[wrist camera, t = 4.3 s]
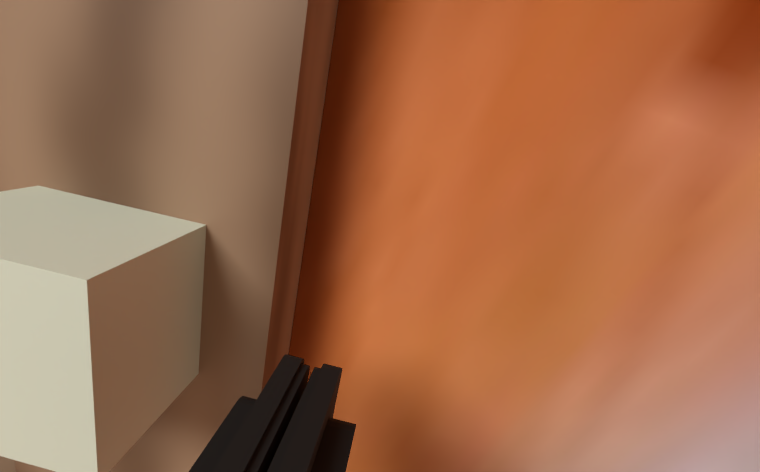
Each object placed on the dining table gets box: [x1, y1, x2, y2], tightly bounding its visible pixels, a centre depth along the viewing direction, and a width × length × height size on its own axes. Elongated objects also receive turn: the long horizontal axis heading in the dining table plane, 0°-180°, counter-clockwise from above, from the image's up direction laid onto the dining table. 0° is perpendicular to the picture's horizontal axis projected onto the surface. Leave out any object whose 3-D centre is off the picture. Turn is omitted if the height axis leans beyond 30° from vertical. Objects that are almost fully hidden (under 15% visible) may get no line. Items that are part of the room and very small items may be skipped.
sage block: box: [0, 186, 206, 472], centre depth 11 cm, size 6×6×4 cm
